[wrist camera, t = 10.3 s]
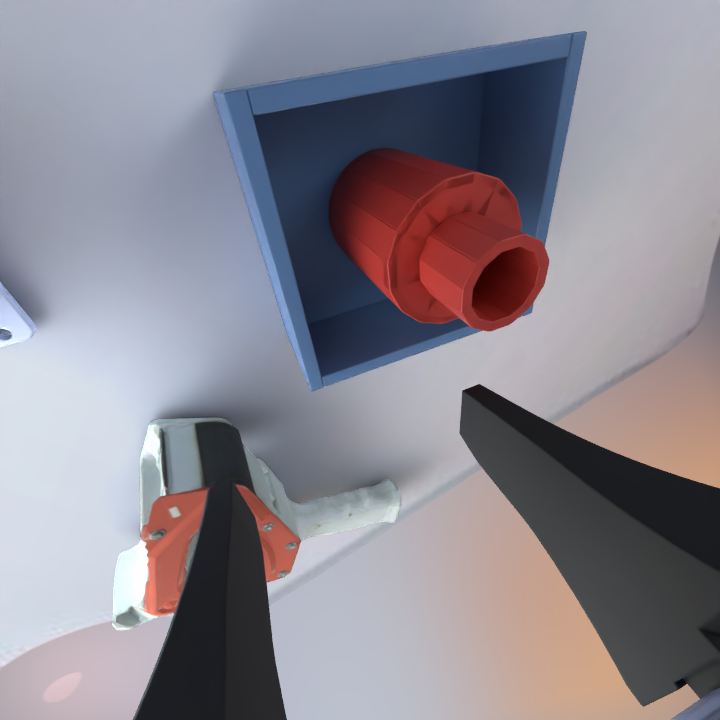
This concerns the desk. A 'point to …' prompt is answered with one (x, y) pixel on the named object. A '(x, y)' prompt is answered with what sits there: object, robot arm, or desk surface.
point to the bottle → (437, 239)
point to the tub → (401, 132)
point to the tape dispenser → (186, 503)
